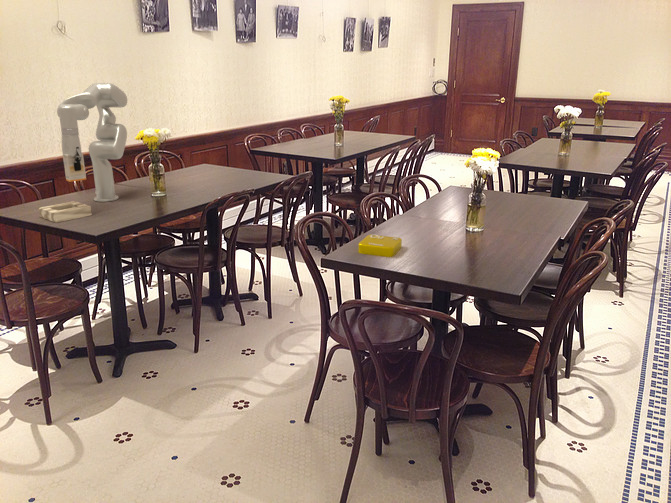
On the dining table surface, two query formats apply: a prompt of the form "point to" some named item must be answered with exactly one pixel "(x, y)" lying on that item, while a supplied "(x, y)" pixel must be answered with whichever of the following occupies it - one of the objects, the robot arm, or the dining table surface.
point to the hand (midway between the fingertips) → (74, 169)
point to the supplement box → (69, 169)
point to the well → (65, 211)
